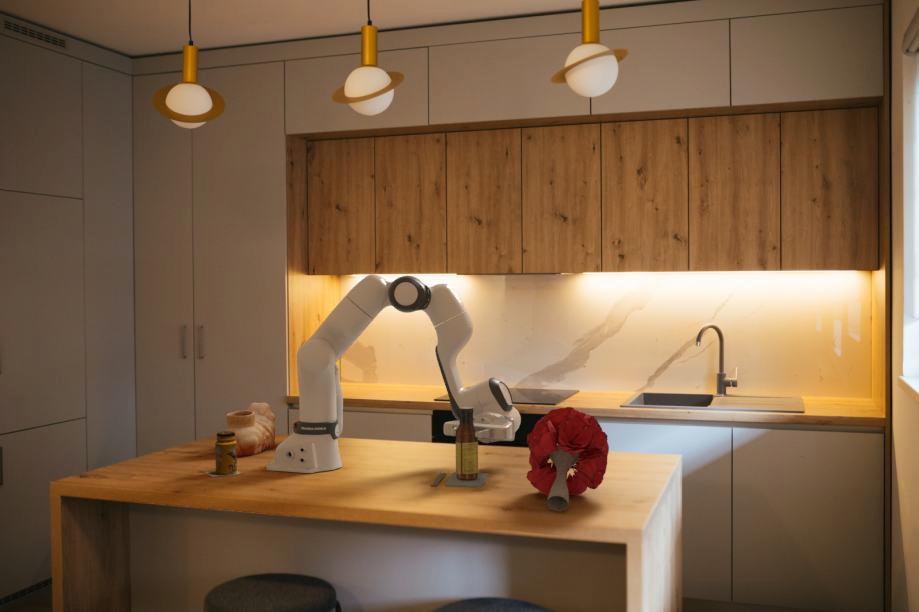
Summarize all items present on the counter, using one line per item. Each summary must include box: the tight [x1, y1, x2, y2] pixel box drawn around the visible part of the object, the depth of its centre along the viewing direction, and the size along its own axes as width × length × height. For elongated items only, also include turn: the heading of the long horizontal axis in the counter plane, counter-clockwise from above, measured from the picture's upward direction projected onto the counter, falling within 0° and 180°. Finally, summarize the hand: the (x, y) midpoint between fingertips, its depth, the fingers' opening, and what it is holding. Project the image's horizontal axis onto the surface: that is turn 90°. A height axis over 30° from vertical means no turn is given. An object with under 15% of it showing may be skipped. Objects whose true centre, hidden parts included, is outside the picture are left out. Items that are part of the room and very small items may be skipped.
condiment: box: [204, 430, 242, 478], centre depth 255 cm, size 7×8×12 cm
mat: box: [444, 471, 489, 488], centre depth 244 cm, size 10×15×1 cm, turn 171°
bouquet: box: [526, 406, 610, 512], centre depth 221 cm, size 22×24×30 cm
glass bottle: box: [335, 363, 344, 439], centre depth 306 cm, size 10×10×28 cm
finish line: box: [430, 472, 447, 487], centre depth 245 cm, size 2×16×1 cm, turn 171°
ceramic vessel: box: [226, 402, 277, 458], centre depth 291 cm, size 14×26×15 cm, turn 167°
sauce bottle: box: [455, 407, 479, 480], centre depth 243 cm, size 7×6×20 cm
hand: (465, 434), depth 243 cm, fingers open, 6 cm apart
